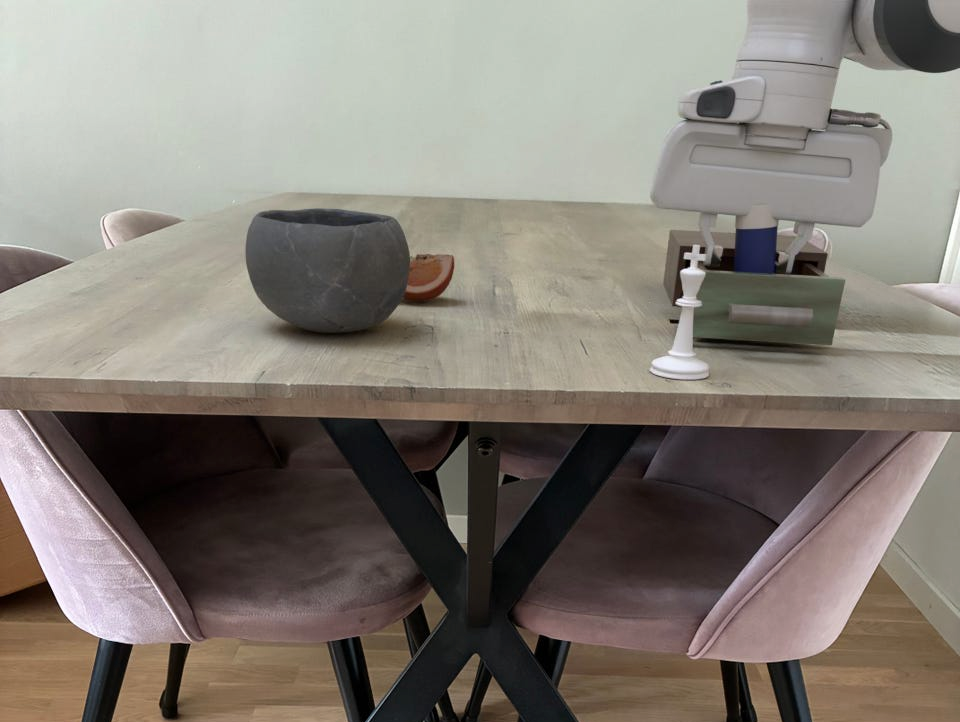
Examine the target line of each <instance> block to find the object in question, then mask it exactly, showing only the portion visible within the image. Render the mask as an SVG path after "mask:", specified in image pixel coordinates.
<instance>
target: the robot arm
mask: <svg viewBox="0 0 960 722" xmlns="http://www.w3.org/2000/svg"><path fill="white" fill-rule="evenodd" d="M746 15H747V19H746V20H747V22H746V30H745V34H744V39H743V41H742V44H741V46H740V48H739V51H738V53H737V56H736V58H735V59H736V60H735V65H734V71H733V75H732V76H731V79H728V80H724V81H723V80H715V81H712V82H709V84H708V85H704V86H700V87H697V88H693V89H689V90H686V91H684V92H683V93H682V94H681V95H680V96H679V98H678V103H677V115H678V117H680V118H681V119H683V120H681V121H677V122H676V123H674V124H673V125H672V126H671V127H670V128H669V129H668V131H667V133H666V134H665V136H664V138H663V140H662V143H661V146H660V150H659V153H658V156H657V159H656V163H655V166H654V171H653V174H652V175H653V176H652V180H651V186H650V191H649V198H650V200H651V202H652V204H653V205H654V206H655V208H657V209H663V210H675V211H684V212H694V213H699V216H698V223H697V224H698V228H699V231H701V233H702V236H703V239H704V242H705V244H706V249H705V254H706V261H703V265H704V266H712V267H720V264H721V259H720V257H721V256H722V253H723V247H722V246H718V245H714V242H713V239H712V235H711V232H712V231H711V229H710V227H712V228H714V227H715V226H716V224H717V219H718V215H726V216H735V217H736V216H747V215H748V214H749V212H750V209H751V207H752V206H755V205H770V212H771V216H772V218H773V219H776V220H779V221H786V222H787V221H788V222H794V225H793V230H792V232H793V233H794V234H795V235H796V236H797V237H796V238H795V239H794V241H793V242H792V243H791V245H790V246H789V247H788V248H787V250H786V251H785V252H779V251H777V252H776V263H775V273H782V274H790V273H791V271H792V267H793V262H794V258H795V255H797V254H798V252H799V251H800V250H801V249H802V248H803V247H804V245H805V244H806V243H807V242H809V241H810V239H811V238H812V237H813V233H814V229H815V225H816V224H818V225H827V226H828V225H829V226H839V227H851V228H862V227H863V226H864V225H865V224H866V223H868V222H869V221H870V220H871V219H872V217H873V215H874V210H875V206H876V202H877V196H878V189H879V182H880V174H881V173H880V172H881V167H882V166H883V165H884V164H885V162H886V161H887V159H888V157H889V154H890V149H891V145H892V143H893V142H892V141H893V130H892V126H890V125H891V124H889V123H888V122H887V121H886V120H885V119H883V118H882V117H881V116H882V115H881V114H879V113H876V112H869V111H868V112H867V111H866V112H857V111H852V110H847V109H846V110H845V109H838V108H837V109H836V108H832V104H833V99H834V96H835V91H836V86H837V81H838V77H839V73H840V69H841V64H842V61H843V60H844V59H846V60H849V61H852V62H855V63H857V64H858V63H859V64H860V65H862V66H864V67H866V68H868V69H872V70H875V71H883V72H884V71H896V72H897V71H898V72H900V71H910V70H911V71H916V72H922V73H927V74H943V73H948V72H952V71H955V70H958V69H960V0H746ZM879 125H881V126H882V127H883V128H882V127H878V126H879Z"/></svg>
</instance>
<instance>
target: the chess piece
mask: <svg viewBox="0 0 960 722" xmlns="http://www.w3.org/2000/svg"><path fill="white" fill-rule="evenodd" d="M699 250H700V245H693V250H692V253H684V259H690V260H691V264H690V267H688V268H687V269H683V270H681V271H680V276H681V281H682V297H681V299H677V302H676V303H675V304H676V305H679V306H680V307H681V312H680V318H679V320H680V321H679V324H677V329H676V333H675V337H674V341H673V344H672V347H671V349H670V350H668V351H667V353H668V354H669V355H664V356H660V357H658V358H655V359H653V360H652V361H651V367H650V368H649V372H650V373H651V374H653V375H656V376H658V377H660V378H667V379H671V380H682V381H690V380H691V381H695V380H702V379H706V378H708V377H709V376H710V372H709V370H710V366H709V364H708V363H707V362H705V361H703V360H701V359H699V358H696V357H694V356H697V353H696V352H695V351H694V347H693V346H694V345H693V342H694V341H693V340H694V339H693V338H694V337H693V314H694V307H700V306H702V304H701V303H702V302H701V301H700V300H696V298H697V297H696V295H697V293H698V291H699V288H700V286H701V283H702V281H703V280H704V277H705V275H706V273H705V272H704V271H703V270H700V269H699V268H697V265H698V260H699V261H706V254H699ZM683 295H684V296H683Z"/></svg>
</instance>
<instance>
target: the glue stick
mask: <svg viewBox="0 0 960 722" xmlns="http://www.w3.org/2000/svg"><path fill="white" fill-rule="evenodd" d="M734 222H735V223H734V224H735V225H734V228H735V232H734V233H735V256H734V272H750V273H768V274H775V263H776V247H777V235H778V228H779V227H778V226H779V223H780V220H776V219H773V218H772V216H771V212H770V205H755V206H752V207H751V209H750V212H749V214H748V215H747V216H735V221H734Z"/></svg>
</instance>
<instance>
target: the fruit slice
mask: <svg viewBox="0 0 960 722" xmlns="http://www.w3.org/2000/svg"><path fill="white" fill-rule="evenodd" d="M454 270H455V257H454V255H453V254H443V253H442V254H440V253H439V254H438V253H437V254H435V255H434V254H430V253H425V254H419V253H417V254H416V255H415V256H412V255H410V272H409V278H408V284H407V288H406V291H405V294H404V296H403V298H402V299H405V300H407V301H410V302H413V303H425V302H429V301H431V300H434V299H436V298H438V297H439V296H440V295H442V294H443V293H444V292H445V291H446V290H447V288H448V286H449V285H450V284H451V281H452V279H453V275H454Z"/></svg>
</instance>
